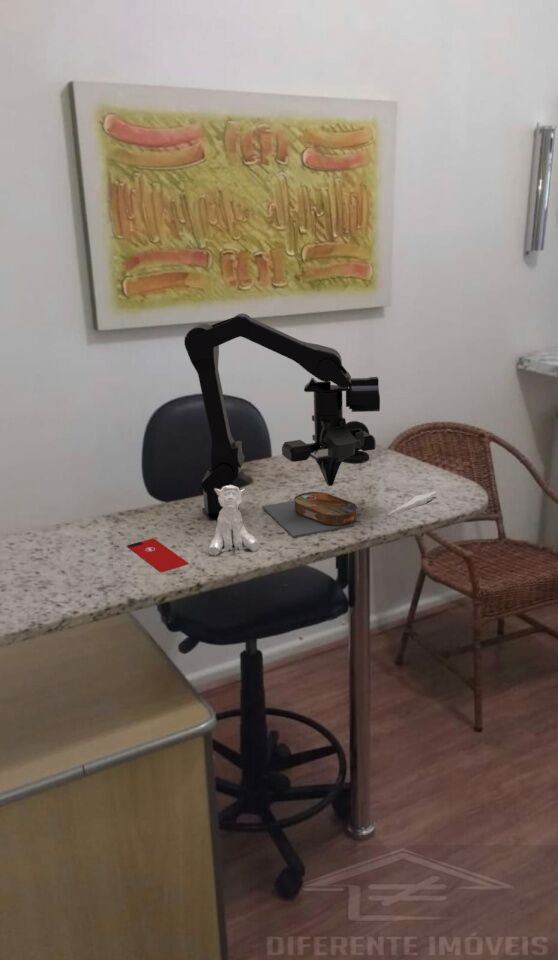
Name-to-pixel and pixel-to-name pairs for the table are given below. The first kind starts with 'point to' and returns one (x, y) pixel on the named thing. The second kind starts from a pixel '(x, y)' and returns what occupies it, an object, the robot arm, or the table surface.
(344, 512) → the tin
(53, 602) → the table surface
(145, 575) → the table surface
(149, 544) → the electronic device
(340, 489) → the table surface
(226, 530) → the white creature statuette
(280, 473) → the table surface
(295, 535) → the mat
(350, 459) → the webcam
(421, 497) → the white tapered figurine
